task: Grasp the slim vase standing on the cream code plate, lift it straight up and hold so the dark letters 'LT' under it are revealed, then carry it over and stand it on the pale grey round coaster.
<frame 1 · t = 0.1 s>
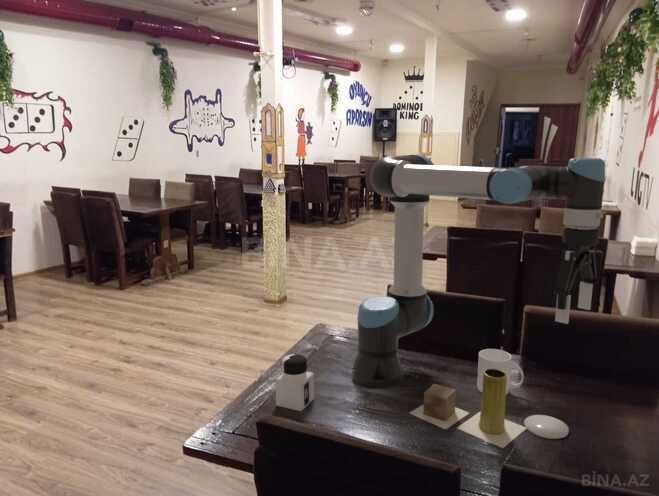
hand: (573, 315, 122), 28 cm above the table, fingers open, 13 cm apart
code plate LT: (491, 429, 125), on the table
coaster: (546, 427, 125), on the table
container: (295, 403, 139), on the table
walnut block: (439, 412, 132), resting on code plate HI
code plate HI: (439, 414, 132), on the table
vase: (491, 428, 125), resting on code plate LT
mug: (499, 392, 143), on the table
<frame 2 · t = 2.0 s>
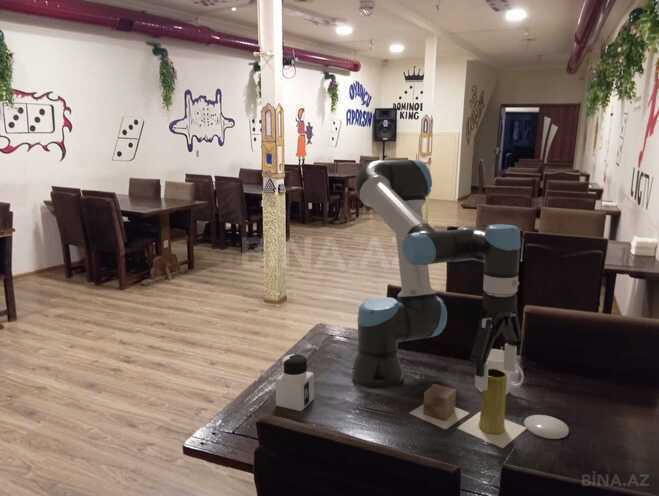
hand: (495, 379, 122), 13 cm above the table, fingers open, 13 cm apart
nothing on the table moved.
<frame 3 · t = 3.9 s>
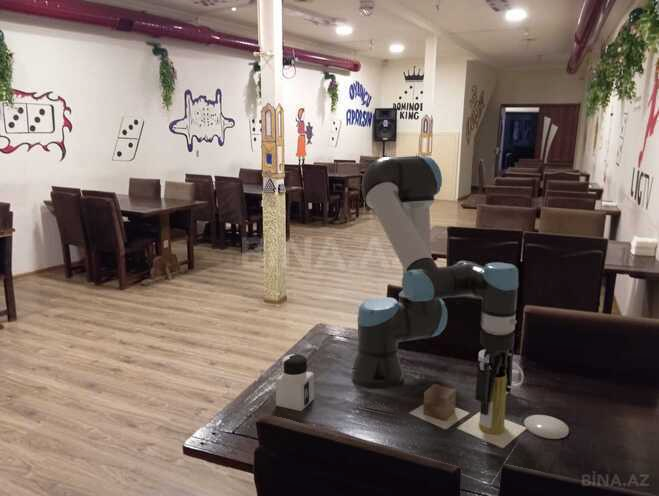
hand: (492, 420, 124), 2 cm above the table, fingers closed on vase, 6 cm apart
vase: (491, 428, 125), resting on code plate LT, touching gripper
everything else where it was.
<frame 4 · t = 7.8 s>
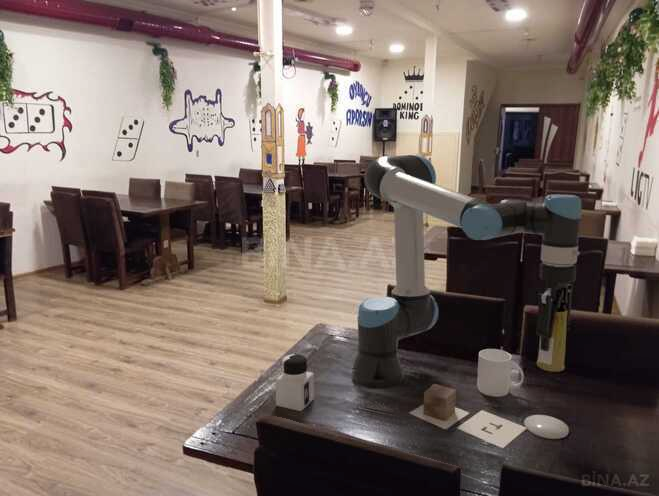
hand: (550, 358, 122), 18 cm above the table, fingers closed on vase, 6 cm apart
vase: (550, 367, 122), point 16 cm above the table, touching gripper
everything else where it was.
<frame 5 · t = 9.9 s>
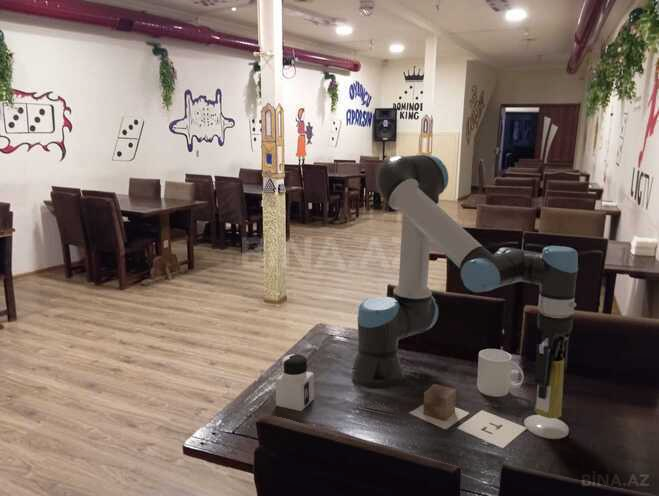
hand: (548, 404, 124), 6 cm above the table, fingers closed on vase, 6 cm apart
vase: (547, 413, 124), point 4 cm above the table, touching gripper
everything else where it was.
when the fingers open (4 cm above the table, at t = 11.5 s): vase drops 1 cm, resting on coaster.
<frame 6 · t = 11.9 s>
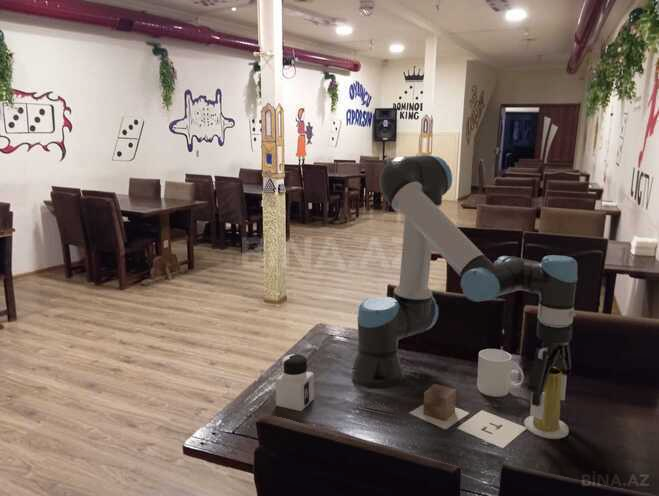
hand: (547, 407, 124), 5 cm above the table, fingers open, 12 cm apart
vase: (545, 425, 125), resting on coaster
everything else where it was.
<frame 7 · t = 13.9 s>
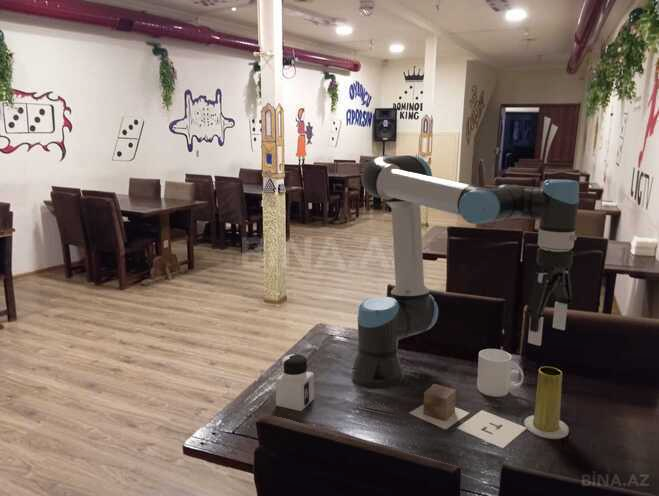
hand: (546, 336, 122), 23 cm above the table, fingers open, 13 cm apart
nothing on the table moved.
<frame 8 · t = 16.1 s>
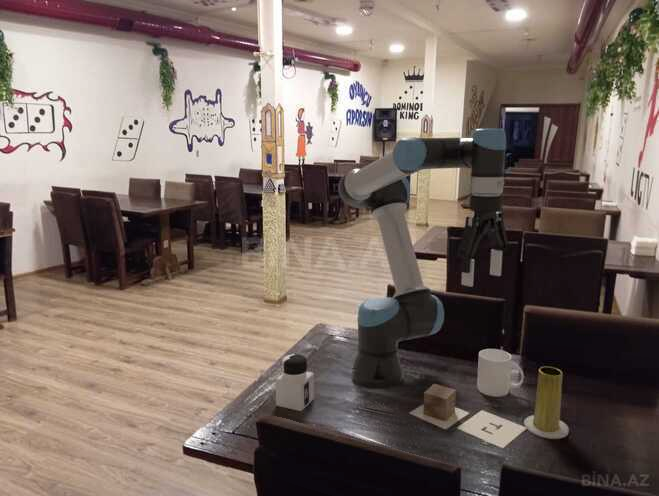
hand: (481, 280, 128), 35 cm above the table, fingers open, 13 cm apart
nothing on the table moved.
at the end: vase 0.1 cm from the coaster (horizontally); vase tilted 0°; the gripper is holding nothing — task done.
